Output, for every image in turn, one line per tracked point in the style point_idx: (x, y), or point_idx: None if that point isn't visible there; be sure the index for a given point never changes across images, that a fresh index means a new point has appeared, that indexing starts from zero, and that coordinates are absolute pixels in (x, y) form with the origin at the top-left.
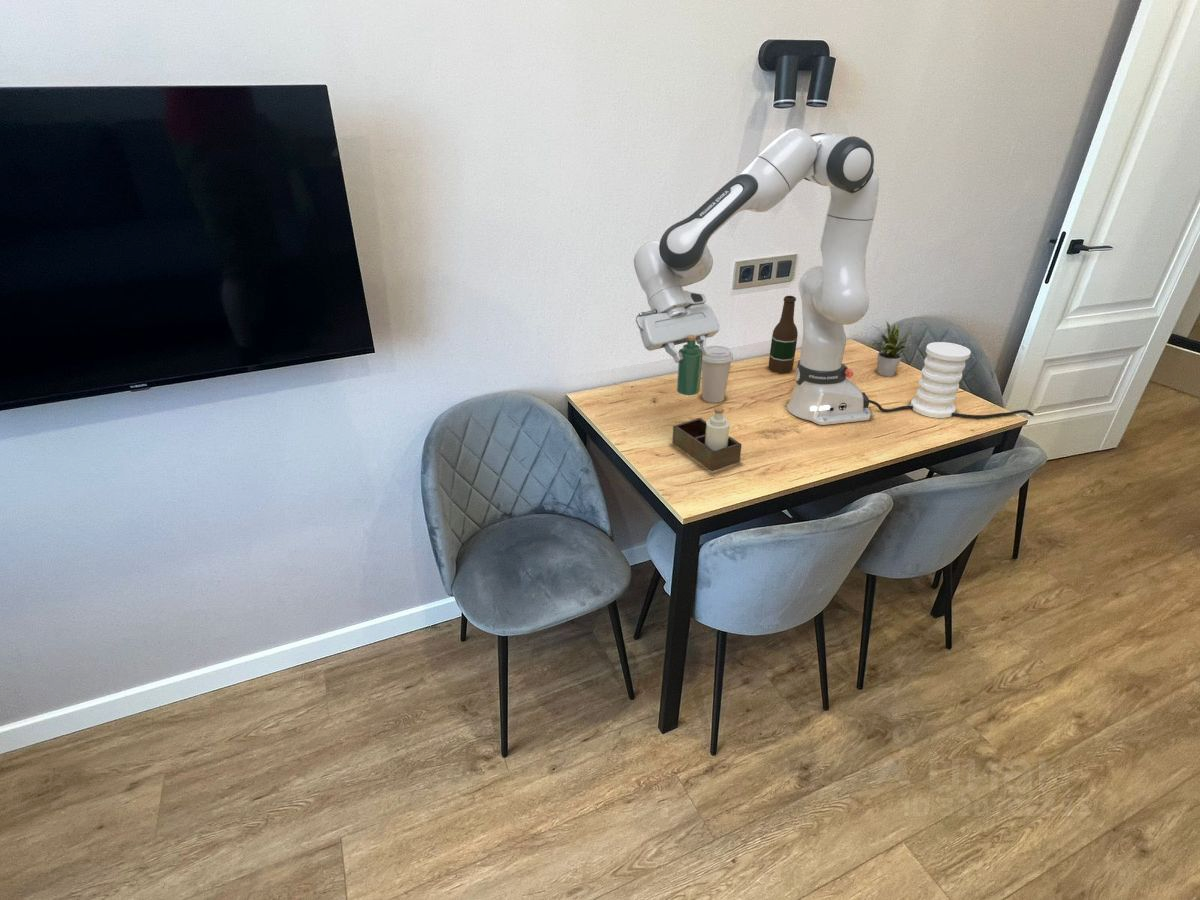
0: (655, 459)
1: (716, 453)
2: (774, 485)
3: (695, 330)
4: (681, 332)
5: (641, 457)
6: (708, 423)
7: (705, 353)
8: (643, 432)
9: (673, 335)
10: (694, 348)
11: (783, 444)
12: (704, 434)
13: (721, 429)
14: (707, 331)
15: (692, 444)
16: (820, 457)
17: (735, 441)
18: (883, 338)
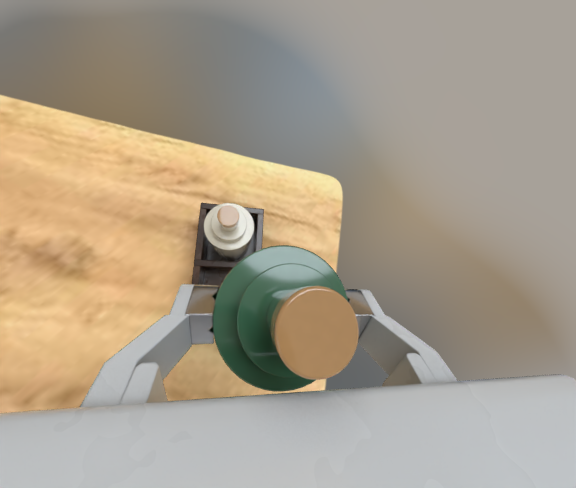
0: None
1: (257, 209)
2: (208, 151)
3: (175, 471)
4: (379, 458)
5: None
6: (247, 235)
7: (197, 284)
8: (266, 392)
9: (463, 428)
10: (295, 278)
11: (85, 217)
12: (231, 267)
13: (240, 206)
14: (5, 428)
15: None
16: (74, 153)
17: (203, 215)
18: None
